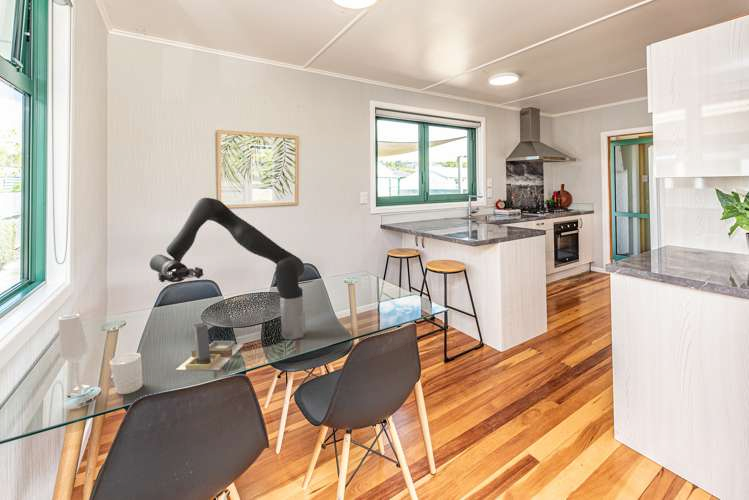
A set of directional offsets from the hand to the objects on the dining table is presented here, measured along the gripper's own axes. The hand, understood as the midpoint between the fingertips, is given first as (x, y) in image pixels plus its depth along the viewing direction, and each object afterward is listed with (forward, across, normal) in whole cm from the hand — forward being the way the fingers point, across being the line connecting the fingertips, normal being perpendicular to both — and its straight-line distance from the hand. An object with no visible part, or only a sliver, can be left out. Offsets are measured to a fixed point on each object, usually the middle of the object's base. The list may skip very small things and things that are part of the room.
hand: (186, 277), depth 128 cm
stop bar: (+11, 0, +29) cm, 31 cm away
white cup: (+10, -22, +30) cm, 39 cm away
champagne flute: (+2, -33, +30) cm, 45 cm away
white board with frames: (+7, +4, +30) cm, 31 cm away
